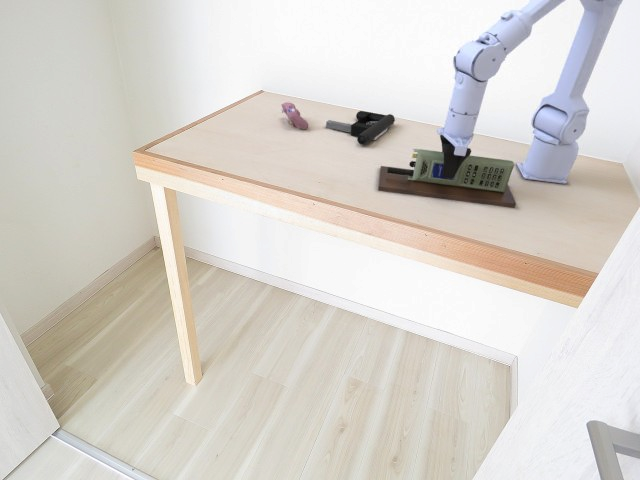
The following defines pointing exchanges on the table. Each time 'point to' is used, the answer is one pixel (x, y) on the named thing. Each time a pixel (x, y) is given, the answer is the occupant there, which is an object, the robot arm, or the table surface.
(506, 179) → the handheld radio
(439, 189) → the walnut board
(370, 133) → the door handle
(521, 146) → the table surface
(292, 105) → the pink rounded piece
